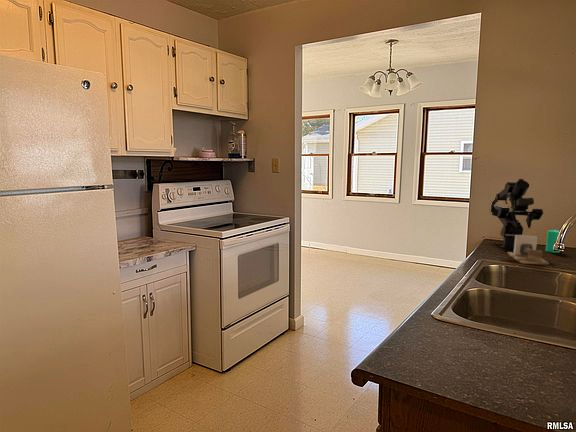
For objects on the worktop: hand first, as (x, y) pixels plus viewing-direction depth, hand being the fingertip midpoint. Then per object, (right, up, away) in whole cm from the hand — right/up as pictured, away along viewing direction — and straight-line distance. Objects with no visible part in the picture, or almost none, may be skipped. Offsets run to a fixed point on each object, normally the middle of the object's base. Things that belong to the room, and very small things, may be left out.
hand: (523, 227), depth 187 cm
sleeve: (-1, -13, -3) cm, 13 cm away
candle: (+22, -13, +12) cm, 28 cm away
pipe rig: (-2, -15, -5) cm, 16 cm away
